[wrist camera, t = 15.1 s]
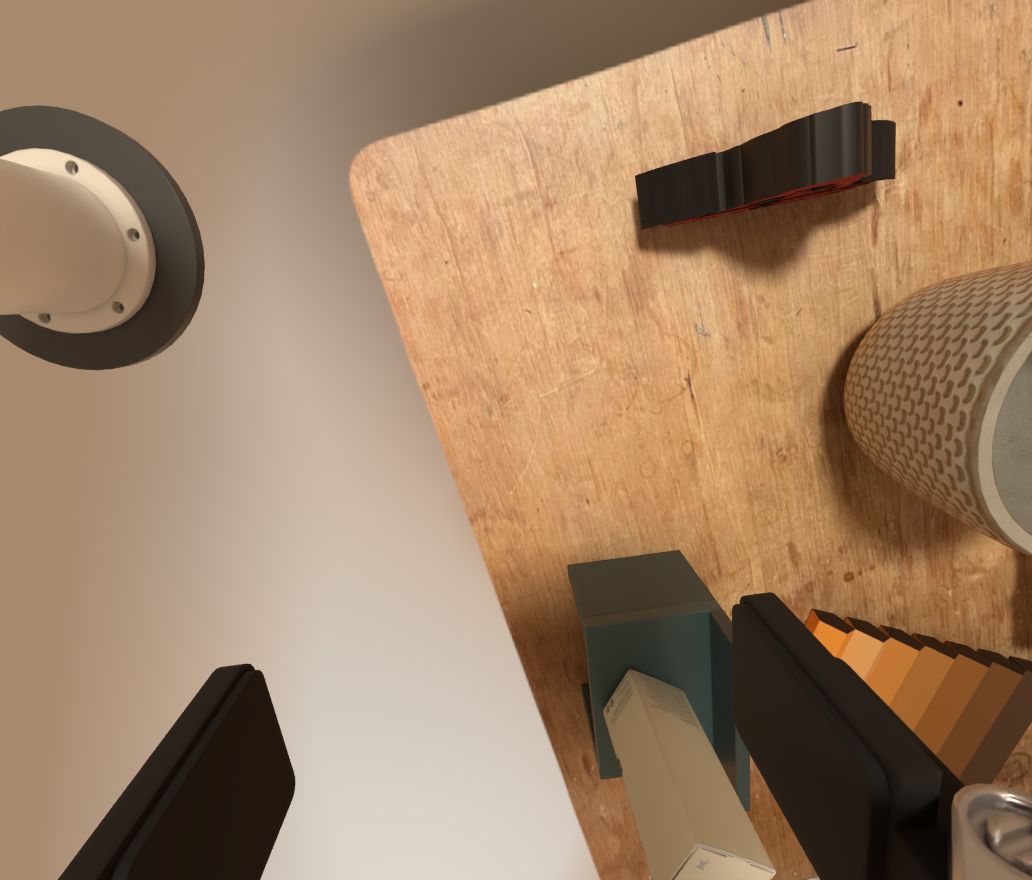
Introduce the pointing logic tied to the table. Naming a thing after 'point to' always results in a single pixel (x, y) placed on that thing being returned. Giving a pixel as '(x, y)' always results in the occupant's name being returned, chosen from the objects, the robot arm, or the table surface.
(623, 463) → the table surface
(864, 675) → the pan flute
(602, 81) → the table surface
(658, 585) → the green stepped block
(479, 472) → the table surface
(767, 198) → the extruded letter emblem
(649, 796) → the box
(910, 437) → the planter
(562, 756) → the table surface
